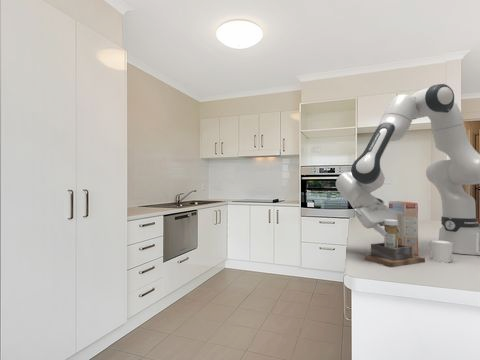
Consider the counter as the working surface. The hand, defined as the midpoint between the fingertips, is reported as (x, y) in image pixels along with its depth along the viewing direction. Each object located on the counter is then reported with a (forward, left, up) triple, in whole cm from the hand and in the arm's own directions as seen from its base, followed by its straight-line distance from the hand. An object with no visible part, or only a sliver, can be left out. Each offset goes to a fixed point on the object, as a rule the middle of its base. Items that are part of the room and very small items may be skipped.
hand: (392, 233), depth 101 cm
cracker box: (-17, -9, -10) cm, 22 cm away
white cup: (-17, +6, -10) cm, 21 cm away
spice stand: (-1, 0, -10) cm, 10 cm away
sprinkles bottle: (0, -1, -9) cm, 9 cm away
